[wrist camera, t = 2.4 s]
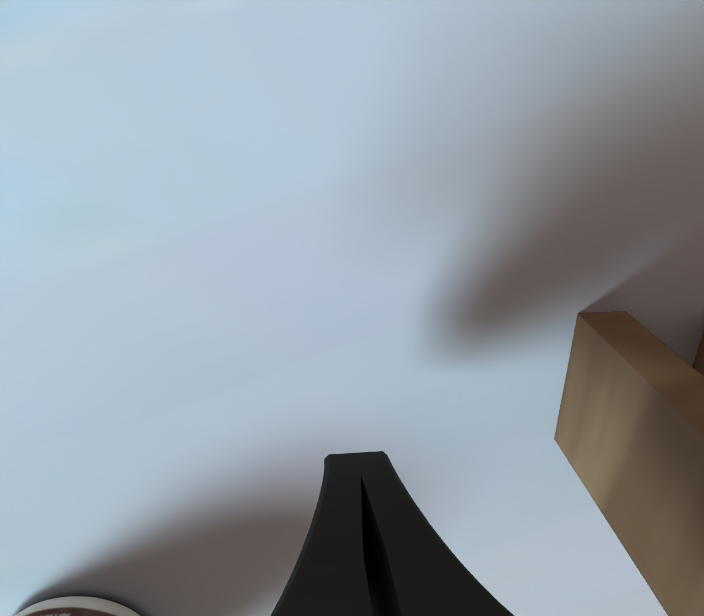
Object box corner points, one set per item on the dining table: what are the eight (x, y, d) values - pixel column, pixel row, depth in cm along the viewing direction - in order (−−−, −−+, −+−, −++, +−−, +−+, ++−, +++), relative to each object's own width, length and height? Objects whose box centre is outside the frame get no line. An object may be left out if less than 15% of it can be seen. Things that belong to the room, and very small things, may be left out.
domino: (625, 311, 16) (832, 484, 10) (596, 436, 18) (756, 648, 12) (577, 313, 16) (758, 489, 10) (554, 438, 18) (693, 654, 12)
